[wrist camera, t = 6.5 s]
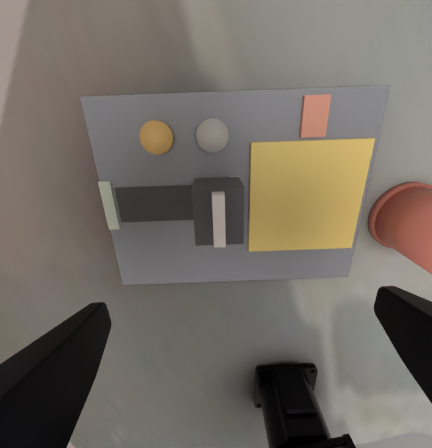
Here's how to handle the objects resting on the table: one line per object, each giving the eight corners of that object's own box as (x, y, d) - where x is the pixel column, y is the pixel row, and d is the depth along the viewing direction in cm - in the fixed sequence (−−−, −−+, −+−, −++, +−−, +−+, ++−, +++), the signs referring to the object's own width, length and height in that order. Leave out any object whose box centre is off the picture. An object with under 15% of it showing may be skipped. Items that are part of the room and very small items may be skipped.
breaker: (238, 225, 17) (245, 249, 14) (198, 226, 17) (194, 251, 14) (238, 177, 16) (246, 190, 12) (195, 178, 16) (190, 192, 12)
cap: (424, 243, 19) (491, 279, 15) (361, 246, 19) (407, 282, 15) (447, 180, 17) (531, 198, 13) (376, 183, 17) (435, 202, 13)
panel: (341, 270, 20) (353, 282, 19) (126, 277, 20) (119, 291, 19) (379, 88, 15) (400, 82, 13) (88, 98, 15) (72, 94, 13)
